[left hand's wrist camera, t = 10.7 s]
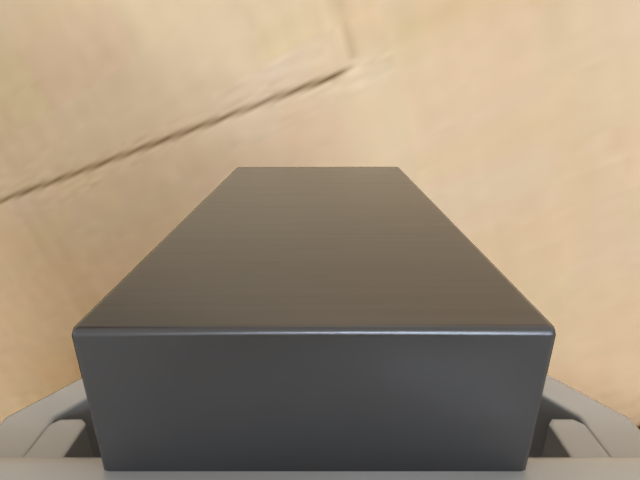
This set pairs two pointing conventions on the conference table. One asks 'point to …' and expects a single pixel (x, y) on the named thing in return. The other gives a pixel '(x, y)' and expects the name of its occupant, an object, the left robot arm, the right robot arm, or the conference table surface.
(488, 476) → the left robot arm
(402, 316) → the bar
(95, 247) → the conference table surface
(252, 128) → the conference table surface
